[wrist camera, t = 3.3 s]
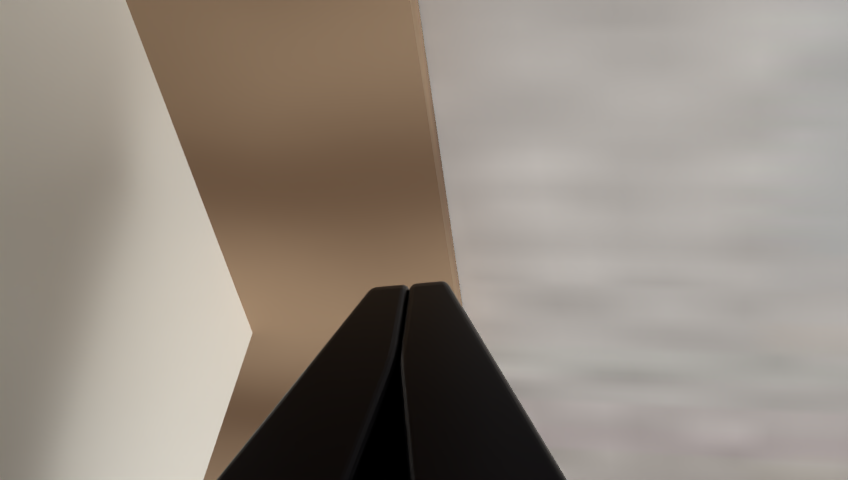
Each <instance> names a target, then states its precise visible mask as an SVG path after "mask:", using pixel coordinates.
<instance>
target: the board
mask: <svg viewBox="0 0 848 480" xmlns="http://www.w3.org/2000/svg"><path fill="white" fill-rule="evenodd" d="M126 3H127V5H128V8H129V11H130V13H131V16H132V18H133V21H134V24H135V26H136V29H137V31H138V34H139V37H140V39H141V42H142V45H143V47H144V50H145V52H146V55H147V58H148V60H149V63H150V66H151V68H152V71H153V73H154V76H155V79H156V81H157V84H158V87H159V89H160V92H161V94H162V97H163V100H164V102H165V105H166V107H167V110H168V113H169V115H170V118H171V121H172V123H173V126H174V128H175V131H176V134H177V136H178V139H179V142H180V144H181V147H182V149H183V152H184V155H185V157H186V160H187V163H188V165H189V168H190V170H191V173H192V176H193V178H194V181H195V183H196V186H197V189H198V191H199V194H200V197H201V199H202V202H203V204H204V207H205V210H206V212H207V215H208V218H209V220H210V223H211V225H212V228H213V231H214V233H215V236H216V239H217V241H218V244H219V246H220V249H221V252H222V254H223V257H224V259H225V262H226V265H227V267H228V270H229V273H230V275H231V278H232V280H233V283H234V286H235V288H236V291H237V294H238V296H239V299H240V301H241V304H242V307H243V309H244V312H245V314H246V317H247V320H248V322H249V325H250V328H251V330H252V336H251V339H250V342H249V345H248V348H247V351H246V354H245V357H244V360H243V363H242V366H241V369H240V372H239V375H238V378H237V381H236V384H235V387H234V390H233V393H232V396H231V399H230V402H229V405H228V408H227V411H226V414H225V417H224V420H223V423H222V426H221V428H220V431H219V434H218V437H217V440H216V443H215V446H214V449H213V452H212V455H211V458H210V461H209V464H208V467H207V470H206V473H205V476H204V479H203V480H217V478H218V477H219V476H220V475H221V473H222V472H223V471H224V470H225V468H226V467H227V466H228V465H229V463H230V462H231V461H232V460H233V459H234V457H235V456H236V455H237V454H238V452H239V451H240V450H241V449H242V447H243V446H244V445H245V444H246V442H247V441H248V440H249V439H250V437H251V436H252V435H253V434H254V433H255V431H256V430H257V429H258V428H259V426H260V425H261V424H262V423H263V421H264V420H265V419H266V418H267V416H268V415H269V414H270V413H271V411H272V410H273V409H274V408H275V407H276V405H277V404H278V403H279V402H280V400H281V399H282V398H283V397H284V395H285V394H286V393H287V392H288V390H289V389H290V388H291V387H292V385H293V384H294V383H295V382H296V380H297V379H298V378H299V377H300V376H301V374H302V373H303V372H304V371H305V369H306V368H307V367H308V366H309V364H310V363H311V362H312V361H313V359H314V358H315V357H316V356H317V354H318V353H319V352H320V351H321V350H322V348H323V347H324V346H325V345H326V343H327V342H328V341H329V340H330V338H331V337H332V336H333V335H334V333H335V332H336V331H337V330H338V328H339V327H340V326H341V325H342V323H343V322H344V321H345V320H346V319H347V317H348V316H349V315H350V314H351V312H352V311H353V310H354V309H355V307H356V306H357V305H358V304H359V302H360V301H361V300H362V299H363V297H364V296H365V295H366V294H367V293H368V291H369V290H371V289H372V288H375V287H382V286H393V285H405V286H407V287H408V288H409V289H410V287H411V286H412V285H413V284H416V283H426V282H437V281H444V282H446V283H447V284H448V285H449V286H450V287H451V289H452V291H453V292H454V294H455V296H456V297H457V299H458V301H459V302H460V304H461V306H462V301H461V294H460V287H459V280H458V273H457V266H456V259H455V253H454V246H453V239H452V232H451V225H450V218H449V211H448V204H447V198H446V191H445V184H444V177H443V170H442V163H441V156H440V149H439V143H438V136H437V129H436V122H435V115H434V108H433V101H432V94H431V88H430V81H429V74H428V67H427V60H426V53H425V46H424V39H423V33H422V26H421V19H420V12H419V5H418V0H126Z"/></svg>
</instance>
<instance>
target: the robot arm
mask: <svg viewBox="0 0 848 480" xmlns="http://www.w3.org/2000/svg"><path fill="white" fill-rule="evenodd" d="M217 480H566V478H565V476H564V475H563V473H562V471H561V470H560V468H559V466H558V465H557V463H556V461H555V460H554V458H553V456H552V455H551V453H550V451H549V450H548V448H547V446H546V445H545V443H544V442H543V440H542V438H541V437H540V435H539V433H538V432H537V430H536V428H535V427H534V425H533V423H532V422H531V420H530V418H529V417H528V415H527V413H526V412H525V410H524V408H523V407H522V405H521V403H520V402H519V400H518V398H517V397H516V395H515V393H514V392H513V390H512V388H511V387H510V385H509V383H508V382H507V380H506V379H505V377H504V375H503V374H502V372H501V370H500V369H499V367H498V365H497V364H496V362H495V360H494V359H493V357H492V355H491V354H490V352H489V350H488V349H487V347H486V345H485V344H484V342H483V340H482V339H481V337H480V335H479V334H478V332H477V330H476V329H475V327H474V325H473V324H472V322H471V320H470V319H469V317H468V316H467V314H466V312H465V311H464V309H463V307H462V306H461V304H460V302H459V301H458V299H457V297H456V296H455V294H454V292H453V291H452V289H451V287H450V286H449V285H448V284H447V283H446V282H444V281H437V282H426V283H416V284H413V285H412V286H411V287H410V289H409V288H408V287H407V286H405V285H393V286H382V287H375V288H372V289H371V290H369V291H368V293H367V294H366V295H365V296H364V297H363V299H362V300H361V301H360V302H359V304H358V305H357V306H356V307H355V309H354V310H353V311H352V312H351V314H350V315H349V316H348V317H347V319H346V320H345V321H344V322H343V323H342V325H341V326H340V327H339V328H338V330H337V331H336V332H335V333H334V335H333V336H332V337H331V338H330V340H329V341H328V342H327V343H326V345H325V346H324V347H323V348H322V350H321V351H320V352H319V353H318V354H317V356H316V357H315V358H314V359H313V361H312V362H311V363H310V364H309V366H308V367H307V368H306V369H305V371H304V372H303V373H302V374H301V376H300V377H299V378H298V379H297V380H296V382H295V383H294V384H293V385H292V387H291V388H290V389H289V390H288V392H287V393H286V394H285V395H284V397H283V398H282V399H281V400H280V402H279V403H278V404H277V405H276V407H275V408H274V409H273V410H272V411H271V413H270V414H269V415H268V416H267V418H266V419H265V420H264V421H263V423H262V424H261V425H260V426H259V428H258V429H257V430H256V431H255V433H254V434H253V435H252V436H251V437H250V439H249V440H248V441H247V442H246V444H245V445H244V446H243V447H242V449H241V450H240V451H239V452H238V454H237V455H236V456H235V457H234V459H233V460H232V461H231V462H230V463H229V465H228V466H227V467H226V468H225V470H224V471H223V472H222V473H221V475H220V476H219V477H218V478H217Z"/></svg>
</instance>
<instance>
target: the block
mask: <svg viewBox="0 0 848 480" xmlns="http://www.w3.org/2000/svg"><path fill="white" fill-rule="evenodd" d="M251 336H252V330H251V328H250V325H249V322H248V320H247V317H246V314H245V312H244V309H243V307H242V304H241V301H240V299H239V296H238V294H237V291H236V288H235V286H234V283H233V280H232V278H231V275H230V273H229V270H228V267H227V265H226V262H225V259H224V257H223V254H222V252H221V249H220V246H219V244H218V241H217V239H216V236H215V233H214V231H213V228H212V225H211V223H210V220H209V218H208V215H207V212H206V210H205V207H204V204H203V202H202V199H201V197H200V194H199V191H198V189H197V186H196V183H195V181H194V178H193V176H192V173H191V170H190V168H189V165H188V163H187V160H186V157H185V155H184V152H183V149H182V147H181V144H180V142H179V139H178V136H177V134H176V131H175V128H174V126H173V123H172V121H171V118H170V115H169V113H168V110H167V107H166V105H165V102H164V100H163V97H162V94H161V92H160V89H159V87H158V84H157V81H156V79H155V76H154V73H153V71H152V68H151V66H150V63H149V60H148V58H147V55H146V52H145V50H144V47H143V45H142V42H141V39H140V37H139V34H138V31H137V29H136V26H135V24H134V21H133V18H132V16H131V13H130V11H129V8H128V5H127V3H126V0H0V480H203V479H204V476H205V473H206V470H207V467H208V464H209V461H210V458H211V455H212V452H213V449H214V446H215V443H216V440H217V437H218V434H219V431H220V428H221V426H222V423H223V420H224V417H225V414H226V411H227V408H228V405H229V402H230V399H231V396H232V393H233V390H234V387H235V384H236V381H237V378H238V375H239V372H240V369H241V366H242V363H243V360H244V357H245V354H246V351H247V348H248V345H249V342H250V339H251Z"/></svg>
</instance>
